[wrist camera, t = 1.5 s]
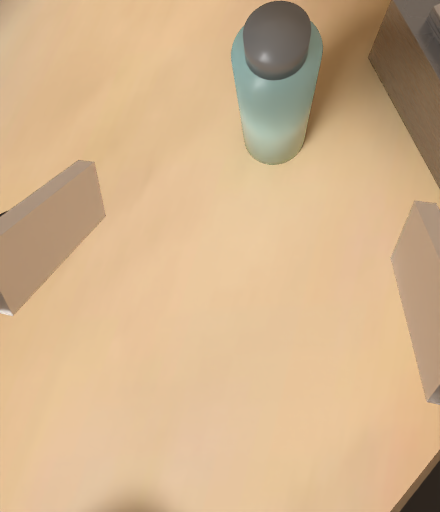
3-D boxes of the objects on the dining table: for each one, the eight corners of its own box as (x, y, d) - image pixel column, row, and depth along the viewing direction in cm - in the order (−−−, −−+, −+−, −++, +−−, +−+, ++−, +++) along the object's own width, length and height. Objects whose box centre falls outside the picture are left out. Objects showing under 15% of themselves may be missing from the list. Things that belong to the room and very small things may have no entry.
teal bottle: (235, 123, 31) (213, 14, 19) (289, 98, 31) (302, -29, 19) (258, 174, 30) (250, 92, 18) (314, 149, 30) (343, 49, 18)
